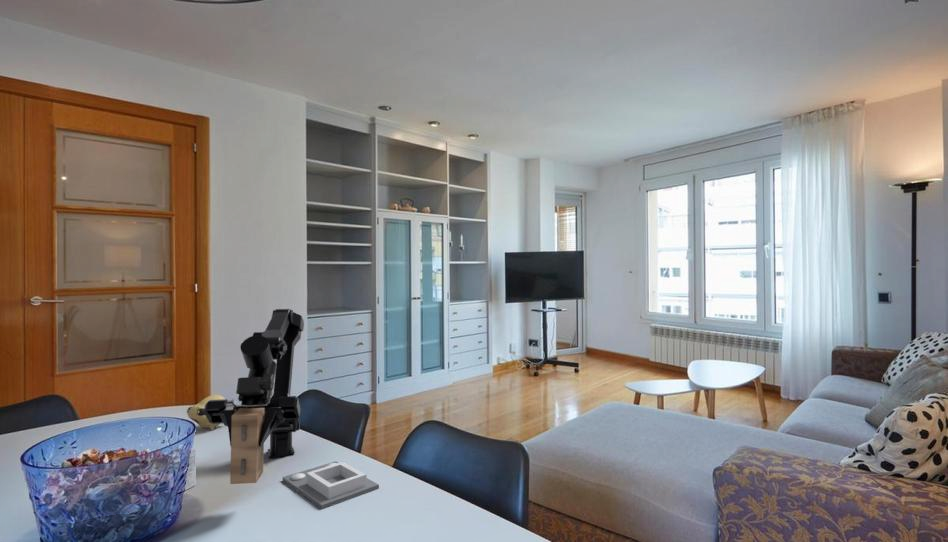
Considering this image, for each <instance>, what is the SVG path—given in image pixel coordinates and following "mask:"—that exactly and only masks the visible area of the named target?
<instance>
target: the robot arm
mask: <svg viewBox="0 0 948 542" xmlns="http://www.w3.org/2000/svg"><path fill="white" fill-rule="evenodd" d="M270 318H271V319H270V320H269V323H268V324H267V327H266V328H265V329H264V331H258V332H256V331H255V332H253V334H252V335H251V336H249V337H246V339H244V340H243V342H242V343H241V344H240V352H241V355H242V357H243V361H244V363H245V366H246V368H247V369H249V370H248V375H247V377H246V376H245V377H239V378H237V385H236V391H235V394H236V395H238V398H237V400H238V402H240V403H241V404H235V403H229V401H228V399H226V398H225V399H221V400H210V401H208V402H207V403H206V404H205V408H204V413H205V415H206V417H207V419H208V421H209V423H212V424H219V423H221V424H223V425H224V426H225V427H227V428H228V437H229V444H230V447H231V425H232V415H233V414H234V413H235V412H236V411H238V410H239V409H240V408H265V409H264V424H263V428H262V431H261V435H260V439H259V446H260V447H261V446H262V445H263V443H265V442H266V441H267V439H268V438H269V448H268V449H267V455H268V459H272V458H273V459H274V458H279V457H285V455H287V456H291V455H290V454H293V455H295V454H294V453H295V452H296V451H295V450H294V447H293V433H296V432H297V431H300V430H301V428H300V424H301V423H300V415H301V404H300V399H299V398H298V397H297V396H296V395H291V391H292V389H291V388H292V379H293V376H292V375H293V368H294V354H295V347H296V345H297V343H298V342H299V341H300V340H301V338H302V332H304V330H305V329H304V327H305V321H304V318H303V316H302V315H300V314H298V313H296V312H294V310H293V309H290V308H277V309H273V311H272V314H271V317H270ZM275 360H276V361H275ZM219 425H220V424H219Z"/></svg>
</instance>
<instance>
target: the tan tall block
mask: <svg viewBox="0 0 948 542" xmlns="http://www.w3.org/2000/svg"><path fill="white" fill-rule="evenodd" d="M264 409H265V408H240V409H239V410H238V411H236V412H235V413H234V414H233V415H232V425H231V446H230V478H229V479H230V485H239V484H256V483H258V481H259V479H260V478H261V477H262V475H263V473H264V455H265V454H264V447H265V445H264V443H265V442H264V443H263V445H262V446H261V447H260V446H259V439H260V435H261V431H262V428H263V424H264Z"/></svg>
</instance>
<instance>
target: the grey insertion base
mask: <svg viewBox="0 0 948 542" xmlns="http://www.w3.org/2000/svg"><path fill="white" fill-rule="evenodd" d="M282 481H283V482H284V483H285V484H287V485H288V486H289V487H290V488H292V489H294V490H295V491H296V492H298V493H299V494H300V495H301V496H303V497H304V498H306V499H307V500H309V501H310V502H312V503H313V504H314V505H316V506H317V507H318V508H319V509H321V510H322V509H326V508H329V507H331V506H332V507H333V506H334V505H337V504H340V503H342V502H344V501H347V500H350V499H353V498H356V497H358V496H361V495H364V494H367V493H369V492H372V491H375V490H377V489H379V488H380V485H379V483H377V482H375V481H373V480H371V479H369V478H367V474H365V472H362V471H360V470H358V469H356V468H354V467H352V466H350V465H349V464H347V463H345V462H343V461H342V462H338V461H333V462H332V461H331V462H330V463H329V462H328V463H326V464H322V465H319V466H315V467H313V468H312V467H311V468H308V469H305V470H302V471H299V472H295V473H292V474H288V475H286V476H283V477H282Z"/></svg>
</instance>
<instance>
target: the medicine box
mask: <svg viewBox="0 0 948 542" xmlns="http://www.w3.org/2000/svg"><path fill="white" fill-rule="evenodd" d="M190 449H191V454H190V461H189V467H188V472H187V482H186V489H185V491H184V492H186V491H188V490H190V489H191V488H194V487H195V486H196V485H197V477H196V476H197V475H196V474H197V473H196V471H197V469H196V467H197V463H196V461H197V459H196V458H197V456H196V455H197V452H196V451H197V450H196V449H195V448H190Z"/></svg>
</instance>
